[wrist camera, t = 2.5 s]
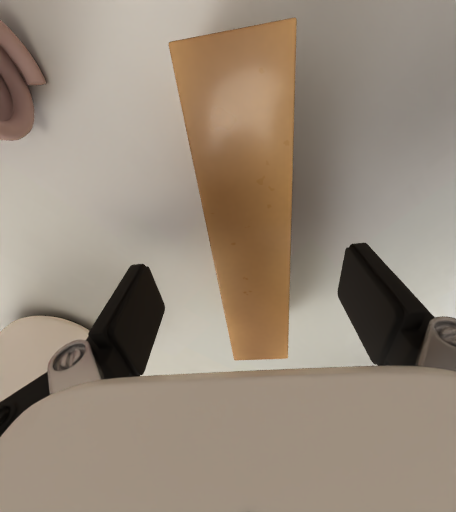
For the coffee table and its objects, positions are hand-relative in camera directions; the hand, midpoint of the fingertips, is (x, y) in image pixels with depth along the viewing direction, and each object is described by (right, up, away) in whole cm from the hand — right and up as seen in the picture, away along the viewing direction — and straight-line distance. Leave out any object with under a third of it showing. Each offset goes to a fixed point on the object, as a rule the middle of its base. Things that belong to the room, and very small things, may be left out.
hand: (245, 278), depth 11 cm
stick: (+1, +3, +4) cm, 5 cm away
